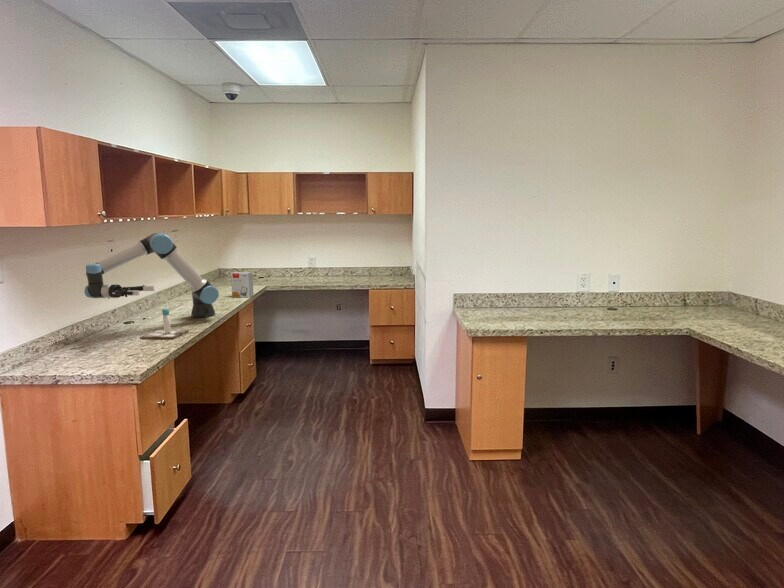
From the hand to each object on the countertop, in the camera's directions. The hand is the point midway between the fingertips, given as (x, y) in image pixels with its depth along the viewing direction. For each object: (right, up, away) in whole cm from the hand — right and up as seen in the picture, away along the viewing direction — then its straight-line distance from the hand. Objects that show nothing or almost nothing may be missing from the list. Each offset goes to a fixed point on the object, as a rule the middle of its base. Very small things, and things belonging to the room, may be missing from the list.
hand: (146, 290), depth 283 cm
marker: (+11, -24, +3) cm, 27 cm away
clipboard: (+9, -26, +4) cm, 27 cm away
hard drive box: (+18, -4, +124) cm, 125 cm away
